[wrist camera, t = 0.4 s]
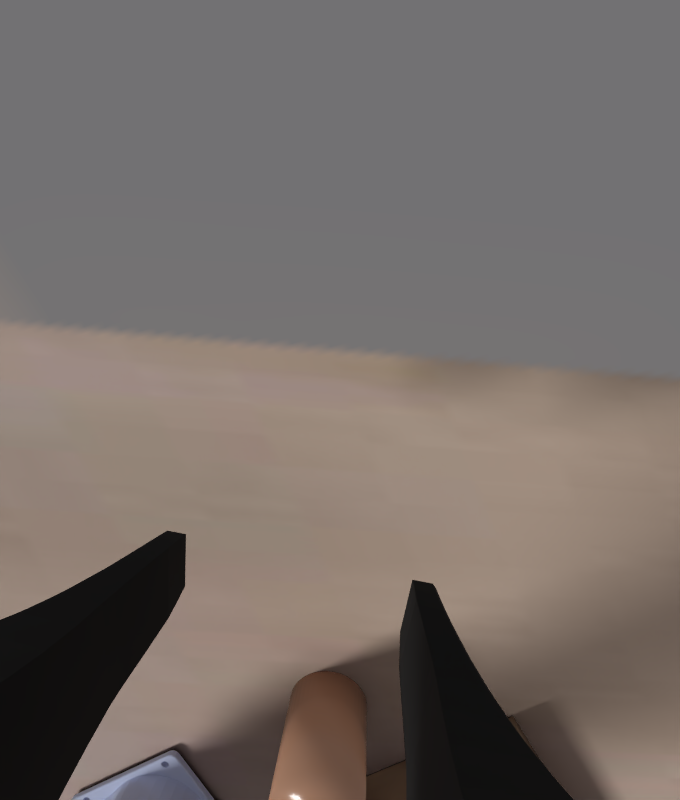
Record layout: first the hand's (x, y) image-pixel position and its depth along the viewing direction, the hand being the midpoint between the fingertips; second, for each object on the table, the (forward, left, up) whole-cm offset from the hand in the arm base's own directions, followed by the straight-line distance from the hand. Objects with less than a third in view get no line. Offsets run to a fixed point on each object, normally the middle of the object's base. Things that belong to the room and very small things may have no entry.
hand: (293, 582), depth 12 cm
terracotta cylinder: (-9, -14, -11) cm, 20 cm away
